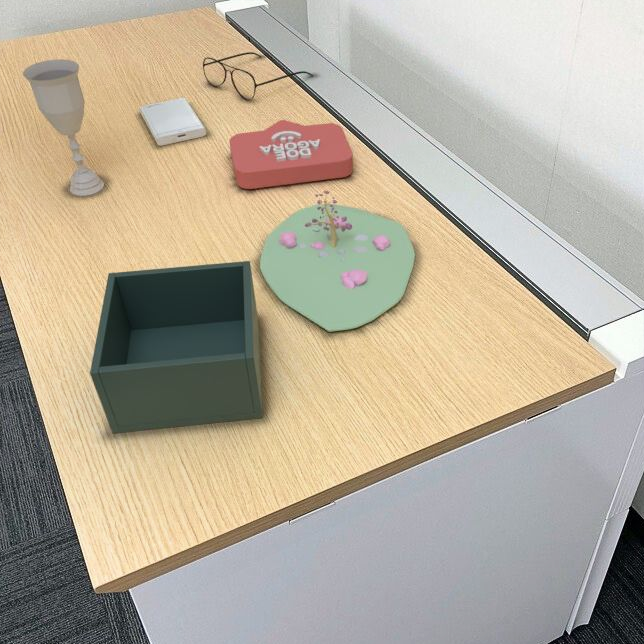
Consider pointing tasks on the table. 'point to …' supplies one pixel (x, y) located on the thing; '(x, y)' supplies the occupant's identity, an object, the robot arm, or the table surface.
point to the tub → (178, 347)
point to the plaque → (290, 154)
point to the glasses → (243, 71)
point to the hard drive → (172, 121)
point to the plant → (338, 264)
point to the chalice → (64, 112)
